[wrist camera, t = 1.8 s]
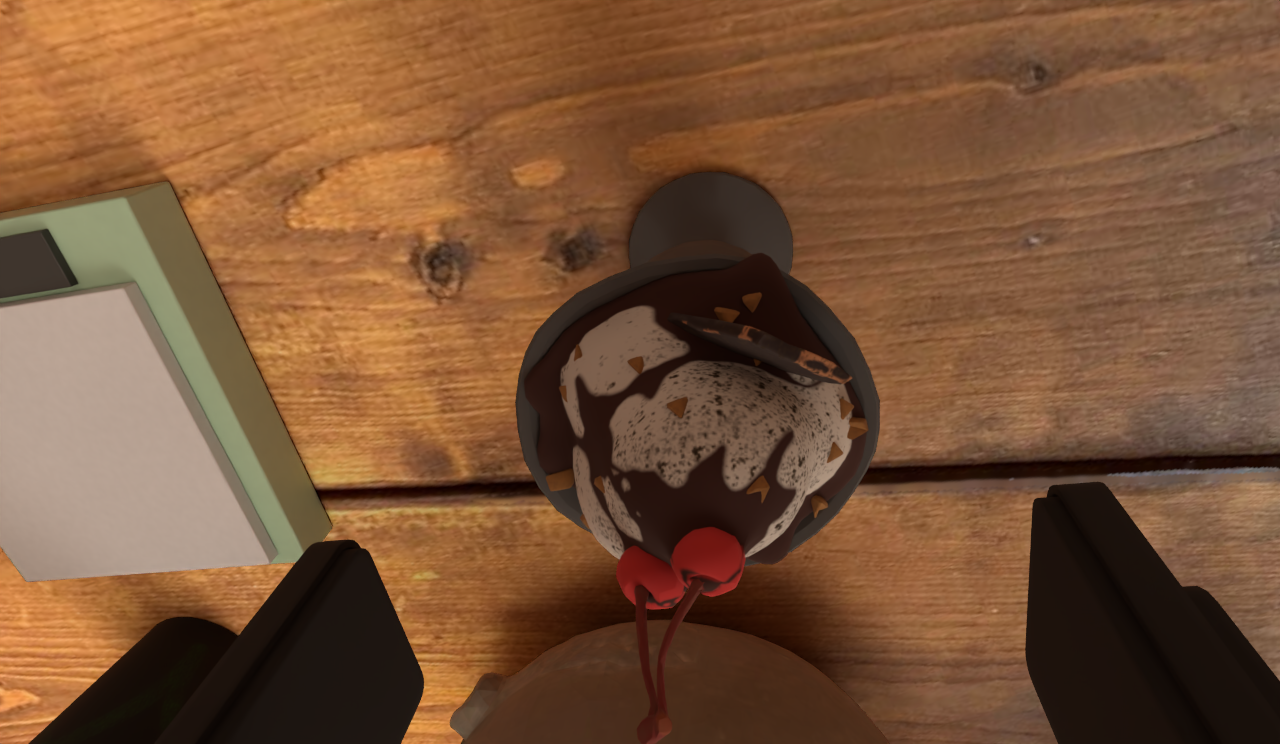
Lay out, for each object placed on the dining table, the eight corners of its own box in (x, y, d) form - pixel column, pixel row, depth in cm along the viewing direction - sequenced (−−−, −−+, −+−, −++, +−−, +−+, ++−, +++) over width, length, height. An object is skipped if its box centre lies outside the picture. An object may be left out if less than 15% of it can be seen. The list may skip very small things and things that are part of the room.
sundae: (660, 381, 25) (573, 840, 11) (564, 200, 22) (311, 520, 9) (853, 307, 23) (1016, 760, 9) (771, 100, 20) (836, 321, 7)
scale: (-148, 241, 26) (-234, 266, 24) (169, 180, 23) (108, 201, 21) (64, 549, 32) (12, 593, 30) (333, 527, 29) (299, 573, 27)
